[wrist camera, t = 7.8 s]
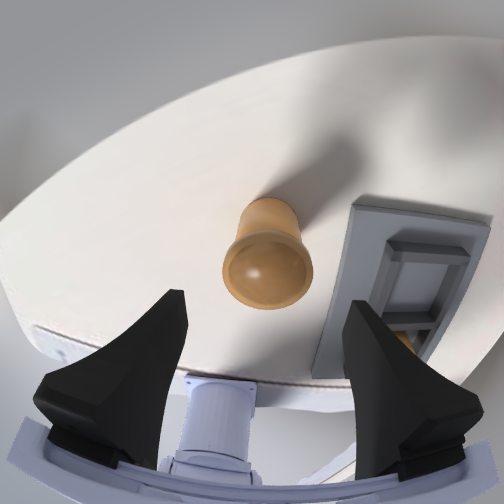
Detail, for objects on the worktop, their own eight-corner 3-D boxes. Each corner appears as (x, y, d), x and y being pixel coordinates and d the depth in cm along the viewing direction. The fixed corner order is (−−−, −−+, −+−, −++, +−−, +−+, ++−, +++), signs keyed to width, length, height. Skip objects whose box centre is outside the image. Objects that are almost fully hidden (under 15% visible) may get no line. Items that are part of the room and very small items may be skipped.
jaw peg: (298, 256, 21) (306, 311, 16) (235, 252, 21) (223, 306, 16) (305, 195, 18) (319, 237, 13) (235, 191, 19) (221, 231, 13)
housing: (417, 365, 27) (423, 382, 25) (311, 371, 28) (312, 390, 25) (484, 223, 18) (501, 236, 16) (351, 204, 18) (361, 219, 16)
